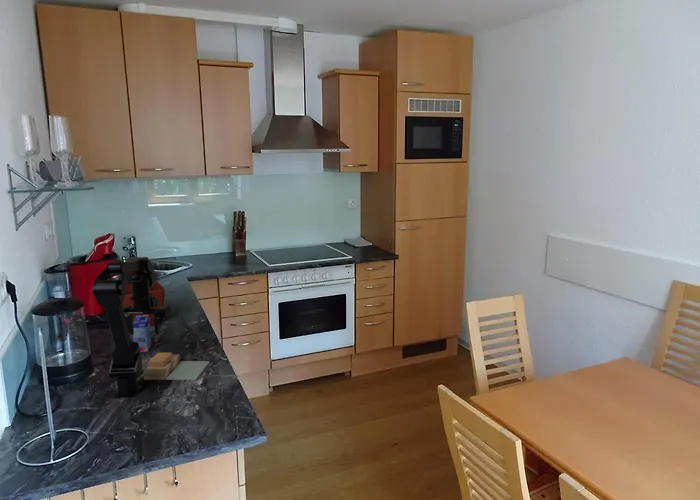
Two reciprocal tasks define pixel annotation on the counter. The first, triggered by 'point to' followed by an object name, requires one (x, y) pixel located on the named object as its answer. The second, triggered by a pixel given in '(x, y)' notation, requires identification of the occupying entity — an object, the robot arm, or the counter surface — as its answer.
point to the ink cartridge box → (142, 332)
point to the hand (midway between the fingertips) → (144, 334)
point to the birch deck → (162, 369)
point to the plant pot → (156, 292)
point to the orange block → (160, 360)
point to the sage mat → (188, 370)
